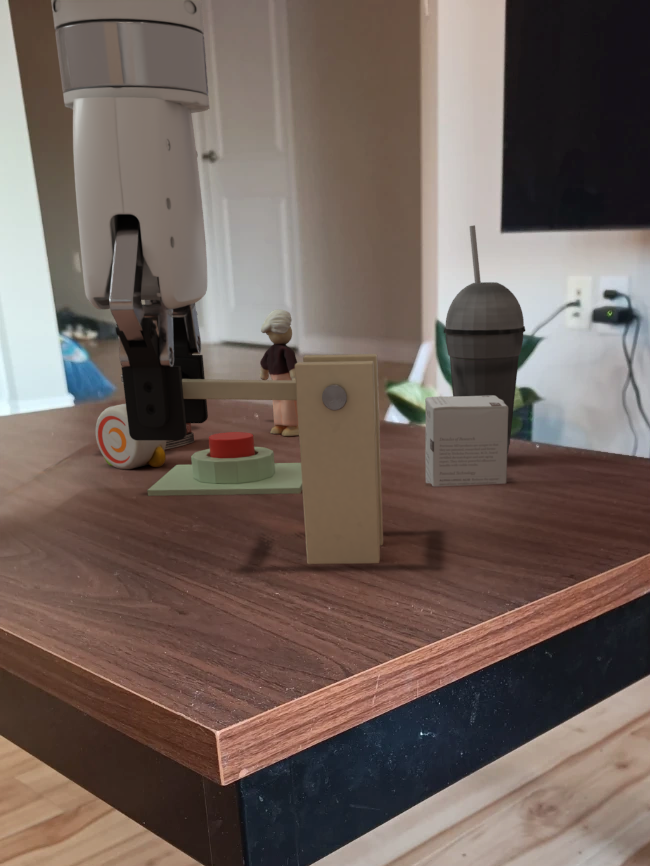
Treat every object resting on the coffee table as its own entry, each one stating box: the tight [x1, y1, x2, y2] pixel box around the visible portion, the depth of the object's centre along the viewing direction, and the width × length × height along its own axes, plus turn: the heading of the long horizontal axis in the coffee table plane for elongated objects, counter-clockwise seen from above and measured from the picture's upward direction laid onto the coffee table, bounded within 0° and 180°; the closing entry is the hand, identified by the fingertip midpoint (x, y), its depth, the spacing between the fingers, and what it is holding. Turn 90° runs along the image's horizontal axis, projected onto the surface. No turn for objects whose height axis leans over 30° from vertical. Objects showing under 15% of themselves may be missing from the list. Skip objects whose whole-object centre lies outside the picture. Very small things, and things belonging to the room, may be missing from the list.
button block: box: [146, 446, 303, 497], centre depth 85 cm, size 12×10×4 cm
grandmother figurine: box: [259, 308, 299, 437], centre depth 111 cm, size 8×4×13 cm, turn 49°
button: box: [208, 431, 255, 458], centre depth 84 cm, size 4×4×2 cm
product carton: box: [424, 395, 508, 487], centre depth 83 cm, size 6×6×7 cm
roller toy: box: [95, 403, 167, 471], centre depth 97 cm, size 4×6×6 cm
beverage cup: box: [443, 224, 526, 455], centre depth 92 cm, size 7×7×20 cm
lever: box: [181, 372, 297, 401], centre depth 61 cm, size 12×5×2 cm, turn 88°
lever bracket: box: [295, 353, 384, 565], centre depth 62 cm, size 11×8×13 cm
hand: (170, 427), depth 62 cm, fingers open, 5 cm apart
